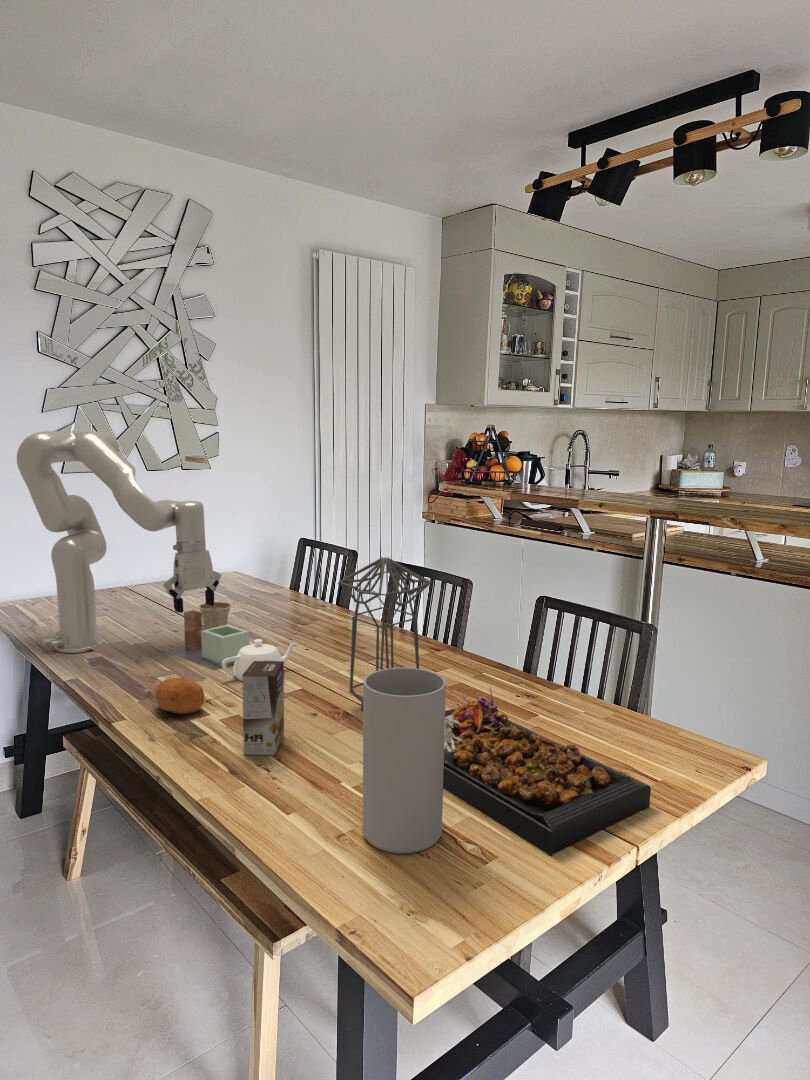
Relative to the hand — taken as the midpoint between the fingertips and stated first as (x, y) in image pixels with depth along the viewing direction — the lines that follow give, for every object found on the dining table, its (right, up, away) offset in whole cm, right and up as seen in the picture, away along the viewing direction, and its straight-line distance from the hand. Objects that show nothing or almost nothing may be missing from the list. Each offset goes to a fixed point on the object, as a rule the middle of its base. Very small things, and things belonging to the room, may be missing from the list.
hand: (194, 608), depth 203 cm
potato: (+7, -19, -39) cm, 44 cm away
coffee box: (+30, -22, -56) cm, 67 cm away
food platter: (+76, -25, -67) cm, 104 cm away
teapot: (+22, -16, -19) cm, 33 cm away
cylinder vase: (+57, -28, -87) cm, 107 cm away
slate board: (+5, -13, -3) cm, 14 cm away
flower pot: (+1, -10, +19) cm, 21 cm away
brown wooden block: (-1, -11, +2) cm, 11 cm away
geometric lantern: (+53, -20, -38) cm, 68 cm away
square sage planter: (+10, -13, -8) cm, 18 cm away
